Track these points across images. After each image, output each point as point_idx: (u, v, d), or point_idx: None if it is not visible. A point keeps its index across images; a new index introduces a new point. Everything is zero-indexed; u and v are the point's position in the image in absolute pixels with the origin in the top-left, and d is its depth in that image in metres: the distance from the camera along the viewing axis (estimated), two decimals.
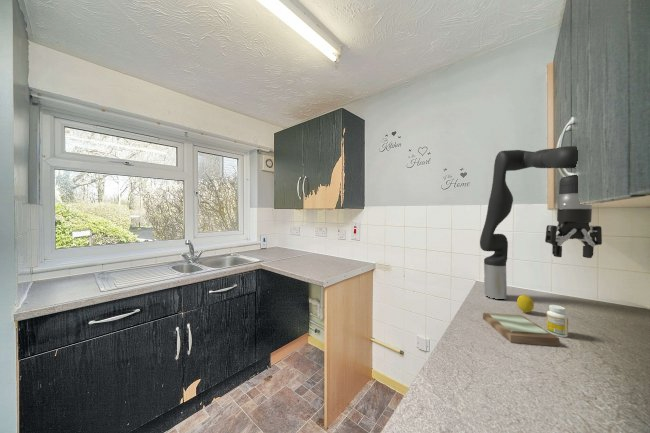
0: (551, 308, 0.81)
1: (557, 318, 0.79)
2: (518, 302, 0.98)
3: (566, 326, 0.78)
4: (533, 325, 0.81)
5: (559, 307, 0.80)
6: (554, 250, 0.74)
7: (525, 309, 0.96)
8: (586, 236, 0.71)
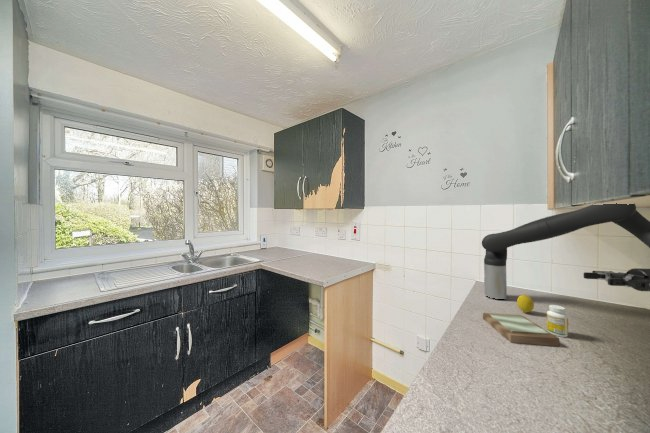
0: (551, 308, 0.81)
1: (557, 318, 0.79)
2: (518, 302, 0.98)
3: (566, 326, 0.78)
4: (533, 325, 0.81)
5: (559, 307, 0.80)
6: (620, 283, 0.73)
7: (525, 309, 0.96)
8: None
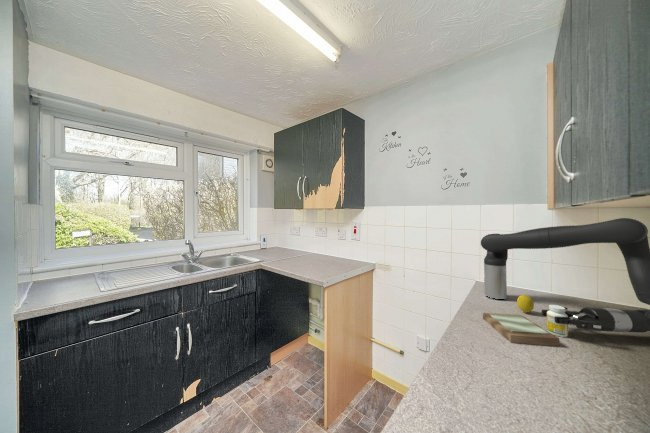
0: (551, 308, 0.81)
1: None
2: (518, 302, 0.98)
3: (566, 326, 0.78)
4: (533, 325, 0.81)
5: (559, 307, 0.80)
6: (565, 322, 0.77)
7: (525, 309, 0.96)
8: None
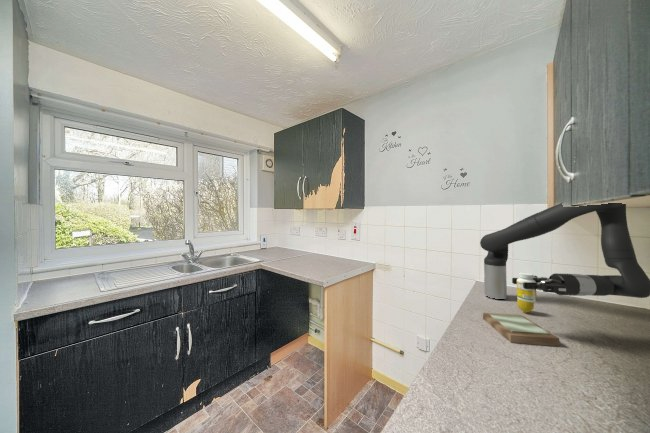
0: (520, 275, 0.82)
1: None
2: (518, 302, 0.98)
3: (534, 291, 0.80)
4: (533, 325, 0.81)
5: (528, 274, 0.82)
6: (532, 286, 0.79)
7: (525, 309, 0.96)
8: None
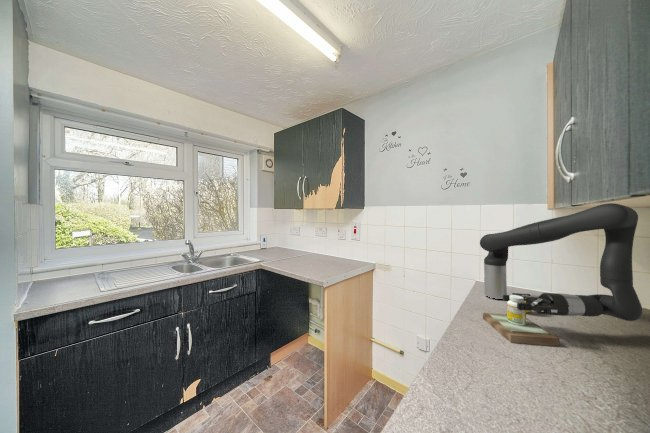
0: (511, 298, 0.83)
1: (516, 308, 0.81)
2: None
3: (523, 315, 0.80)
4: (533, 325, 0.81)
5: (518, 297, 0.83)
6: (526, 308, 0.78)
7: None
8: None
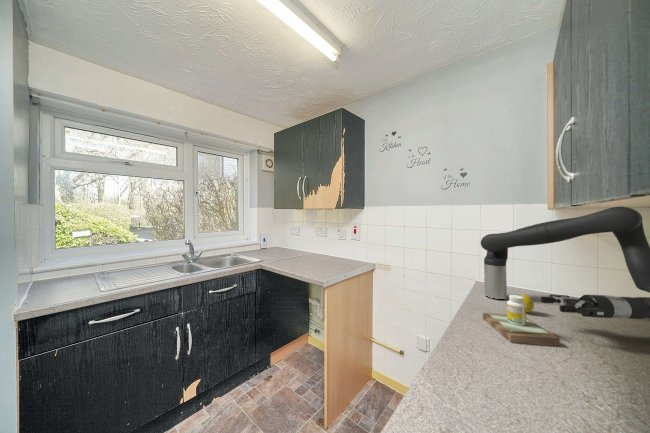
0: (510, 298, 0.83)
1: (516, 308, 0.81)
2: None
3: (523, 315, 0.80)
4: (533, 325, 0.81)
5: (518, 297, 0.83)
6: (570, 310, 0.75)
7: None
8: None
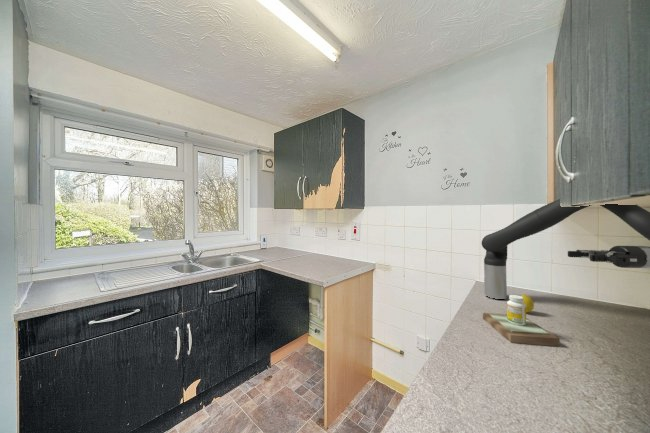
0: (510, 298, 0.83)
1: (516, 308, 0.81)
2: None
3: (523, 315, 0.80)
4: (533, 325, 0.81)
5: (518, 297, 0.83)
6: (601, 259, 0.74)
7: None
8: None
